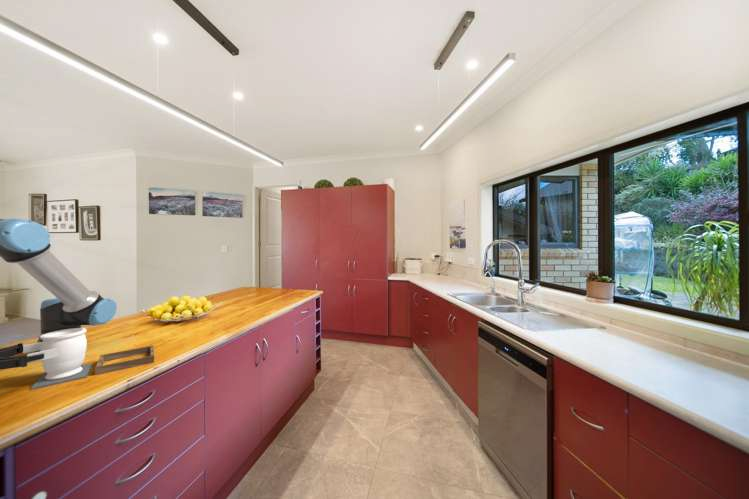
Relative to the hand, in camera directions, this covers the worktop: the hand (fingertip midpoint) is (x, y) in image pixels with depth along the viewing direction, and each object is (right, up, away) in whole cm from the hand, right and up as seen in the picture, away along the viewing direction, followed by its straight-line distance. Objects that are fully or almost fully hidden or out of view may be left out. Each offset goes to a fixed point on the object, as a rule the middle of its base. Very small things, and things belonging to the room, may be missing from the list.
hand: (56, 347), depth 90 cm
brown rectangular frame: (+12, -11, +13) cm, 21 cm away
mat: (+1, -11, +2) cm, 11 cm away
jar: (+1, -10, +2) cm, 10 cm away
